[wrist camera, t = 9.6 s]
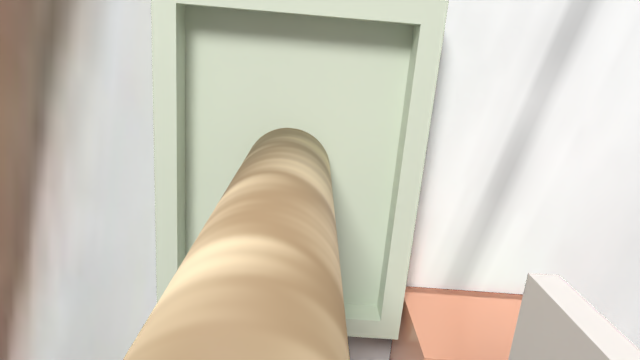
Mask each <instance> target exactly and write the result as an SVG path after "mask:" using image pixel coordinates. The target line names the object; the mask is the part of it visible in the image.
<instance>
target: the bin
mask: <svg viewBox="0 0 640 360" xmlns="http://www.w3.org/2000/svg"><path fill="white" fill-rule="evenodd" d="M522 297H523V295H521V294H507V293H493V292H479V291H464V290H450V289H436V288H422V287H408V286H406V289H405V296H404V303H403V309H402V316H401V323H400V329H399V336H398V340H395V339H392V345H391V352H390V359H389V360H508V359H509V354H510V350H511V346H512V341H513V337H514V332H515V328H516V324H517V319H518V315H519V311H520V306H521V302H522Z"/></svg>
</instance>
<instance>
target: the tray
mask: <svg viewBox="0 0 640 360" xmlns="http://www.w3.org/2000/svg"><path fill="white" fill-rule="evenodd" d="M448 3H449V0H151V28H152V79H153V129H154V180H155V231H156V282H157V303H158V301H159V300H160V298H161V296H162V295H163V293H164V291H165V290H166V288H167V286H168V285H169V283H170V281H171V280H172V278H173V276H174V275H175V273H176V272H177V270H178V268H179V267H180V265H181V263H182V262H183V260H184V258H185V257H186V255H187V253H188V252H189V250H190V248H191V247H192V245H193V244H194V242H195V240H196V239H197V237H198V235H199V234H200V232H201V230H202V229H203V227H204V225H205V224H206V222H207V221H208V219H209V217H210V216H211V214H212V212H213V211H214V209H215V207H216V206H217V204H218V202H219V201H220V199H221V197H222V196H223V194H224V193H225V191H226V189H227V188H228V186H229V184H230V183H231V181H232V179H233V178H234V176H235V174H236V173H237V171H238V170H239V168H240V166H241V165H242V163H243V161H244V160H245V158H246V156H247V155H248V153H249V151H250V150H251V148H252V146H253V145H254V144H255V142H256V141H257V140H258V139H259V138H260V137H262V136H263V135H264V134H266V133H268V132H270V131H273V130H275V129H279V128H295V129H299V130H303V131H305V132H307V133H309V134H311V135H312V136H314V137H315V138H316V139H317V140H318V141H319V142H320V143H321V144H322V146H323V147H324V149H325V151H326V153H327V155H328V158H329V162H330V172H331V182H332V191H333V201H334V211H335V220H336V230H337V240H338V249H339V259H340V269H341V279H342V288H343V298H344V308H345V317H346V327H347V336H350V337H365V338H380V339H395V340H398V336H399V329H400V323H401V316H402V309H403V303H404V296H405V289H406V283H407V276H408V269H409V263H410V256H411V249H412V243H413V236H414V229H415V223H416V216H417V209H418V203H419V196H420V189H421V183H422V176H423V169H424V163H425V156H426V149H427V143H428V136H429V129H430V123H431V116H432V109H433V103H434V96H435V89H436V83H437V76H438V69H439V63H440V56H441V49H442V43H443V36H444V29H445V23H446V16H447V9H448Z"/></svg>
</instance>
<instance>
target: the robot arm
mask: <svg viewBox="0 0 640 360" xmlns="http://www.w3.org/2000/svg"><path fill="white" fill-rule="evenodd" d="M508 360H640V349H638V348H637V347H636V346H635V345H634V344H633V343H632V342H631V341H630V340H629V339H628V338H627V337H626V336H624V335H623V334H622V333H621V332H620V331H619V330H618V329H617V328H616V327H615V326H614V325H613V324H612V323H610V322H609V321H608V320H607V319H606V318H605V317H604V316H603V315H602V314H601V313H600V312H599V311H598V310H596V309H595V308H594V307H593V306H592V305H591V304H590V303H589V302H588V301H587V300H586V299H585V298H584V297H582V296H581V295H580V294H579V293H578V292H577V291H576V290H575V289H574V288H573V287H572V286H571V285H570V284H569V283H567V282H566V281H565V280H564V279H563V278H562V277H561V276H560V275H549V274H534V273H528V275H527V280H526V284H525V289H524V293H523V297H522V302H521V306H520V311H519V315H518V319H517V324H516V328H515V332H514V337H513V341H512V346H511V350H510V354H509V359H508Z"/></svg>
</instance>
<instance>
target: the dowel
mask: <svg viewBox="0 0 640 360" xmlns="http://www.w3.org/2000/svg"><path fill="white" fill-rule="evenodd" d="M123 360H350V356H349V347H348V337H347V327H346V317H345V308H344V298H343V288H342V279H341V269H340V259H339V249H338V240H337V230H336V220H335V211H334V201H333V191H332V182H331V172H330V162H329V158H328V155H327V153H326V151H325V149H324V147H323V146H322V144H321V143H320V142H319V141H318V140H317V139H316V138H315V137H314V136H312V135H311V134H309V133H307V132H305V131H303V130H299V129H295V128H279V129H275V130H273V131H270V132H268V133H266V134H264V135H263V136H262V137H260V138H259V139H258V140H257V141H256V142H255V144H254V145H253V146H252V148H251V150H250V151H249V153H248V155H247V156H246V158H245V160H244V161H243V163H242V165H241V166H240V168H239V170H238V171H237V173H236V174H235V176H234V178H233V179H232V181H231V183H230V184H229V186H228V188H227V189H226V191H225V193H224V194H223V196H222V197H221V199H220V201H219V202H218V204H217V206H216V207H215V209H214V211H213V212H212V214H211V216H210V217H209V219H208V221H207V222H206V224H205V225H204V227H203V229H202V230H201V232H200V234H199V235H198V237H197V239H196V240H195V242H194V244H193V245H192V247H191V248H190V250H189V252H188V253H187V255H186V257H185V258H184V260H183V262H182V263H181V265H180V267H179V268H178V270H177V272H176V273H175V275H174V276H173V278H172V280H171V281H170V283H169V285H168V286H167V288H166V290H165V291H164V293H163V295H162V296H161V298H160V300H159V301H158V303H157V304H156V306H155V308H154V309H153V311H152V313H151V314H150V316H149V318H148V319H147V321H146V323H145V324H144V326H143V327H142V329H141V331H140V332H139V334H138V336H137V337H136V339H135V341H134V342H133V344H132V346H131V347H130V349H129V351H128V352H127V354H126V355H125V357H124V359H123Z"/></svg>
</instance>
